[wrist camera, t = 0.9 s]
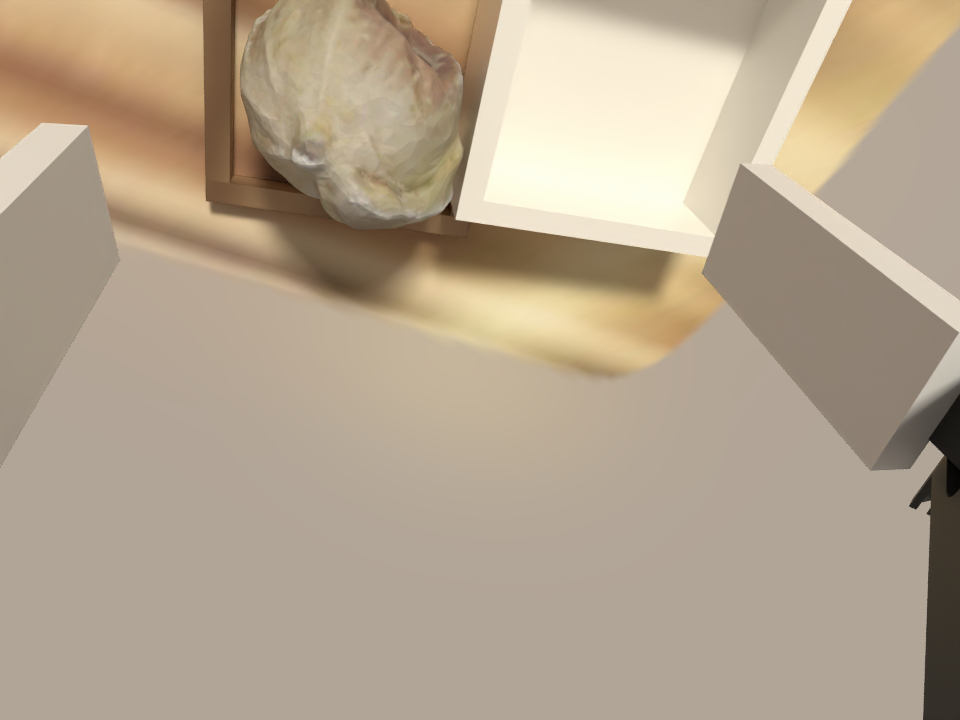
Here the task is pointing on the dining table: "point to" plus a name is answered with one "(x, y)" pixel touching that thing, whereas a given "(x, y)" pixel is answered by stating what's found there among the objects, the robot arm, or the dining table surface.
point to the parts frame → (221, 138)
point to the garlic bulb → (354, 109)
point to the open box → (629, 111)
